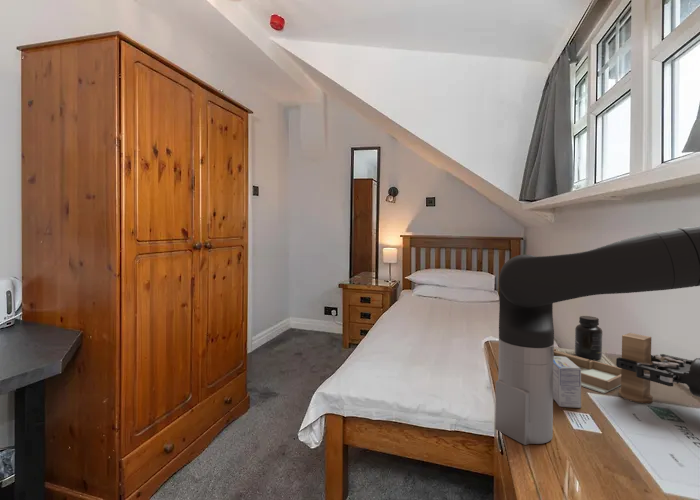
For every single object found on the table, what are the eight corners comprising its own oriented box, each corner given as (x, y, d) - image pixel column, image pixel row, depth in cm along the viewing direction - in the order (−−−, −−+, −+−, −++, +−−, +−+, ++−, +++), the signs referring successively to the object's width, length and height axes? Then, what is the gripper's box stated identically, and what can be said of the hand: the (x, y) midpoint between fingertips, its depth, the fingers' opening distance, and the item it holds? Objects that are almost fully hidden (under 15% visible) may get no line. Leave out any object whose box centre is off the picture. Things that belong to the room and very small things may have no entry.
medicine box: (581, 409, 74) (582, 368, 74) (558, 407, 75) (559, 367, 75) (566, 392, 82) (567, 356, 81) (545, 391, 83) (546, 355, 82)
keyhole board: (604, 393, 81) (604, 379, 81) (526, 367, 97) (526, 355, 97) (634, 378, 89) (635, 365, 89) (558, 357, 105) (558, 345, 105)
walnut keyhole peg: (646, 406, 75) (647, 341, 75) (613, 395, 80) (614, 335, 80) (657, 399, 78) (658, 337, 78) (625, 389, 83) (626, 331, 83)
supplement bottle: (569, 354, 108) (569, 315, 107) (585, 351, 110) (586, 314, 110) (590, 361, 101) (591, 320, 101) (607, 359, 103) (608, 319, 103)
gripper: (738, 357, 70) (638, 337, 84) (715, 372, 63) (610, 347, 77) (737, 394, 70) (637, 368, 85) (714, 413, 63) (609, 381, 77)
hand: (625, 358), depth 81 cm, fingers open, 7 cm apart
